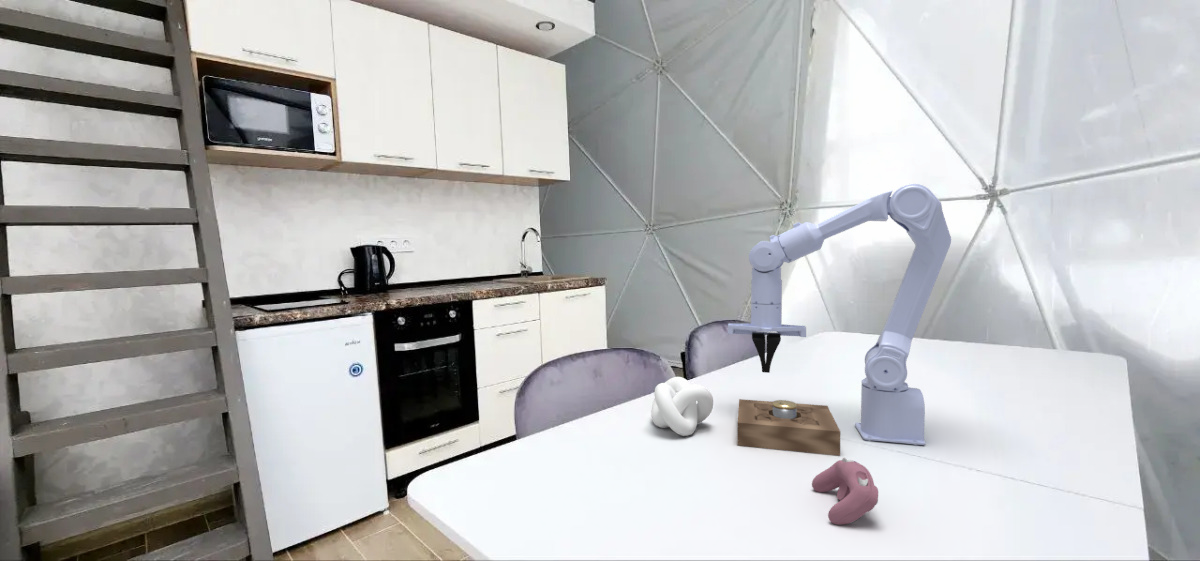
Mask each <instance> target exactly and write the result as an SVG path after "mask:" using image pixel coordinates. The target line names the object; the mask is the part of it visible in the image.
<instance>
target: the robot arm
mask: <svg viewBox="0 0 1200 561" xmlns="http://www.w3.org/2000/svg"><path fill="white" fill-rule="evenodd" d="M942 206H943V205H942V202H941V201H940V199H938V197H937V196H936V195H935V194H934V193H933V191H932V190H931V189H929V188H928V187H927V186H925V185H924V184H923V185H922V184H919V183H909V184H905V185H902V186H901V187H899V188H898V189H896V190H895V191H894V192H893V190H889V191H885V192H882V193H880V194H877V195H875V196H873V197H872V196H871V197H870V198H867V199H865V200H863V201H861V202H859V203H857V204H856V205H853V206H851V207H849V208H847V209H845V210H843V211H842V212H840V213H838V214H836V215H834V216H831V217H829V218H828V219H826V220H823V221H822V222H819V223H812V222H809V221H805V222H803V223H801V222H800V221H798V222H796V223H793V224H792V226H793V228H790V229H789V230H786V231H785V232H781V233H780V234H778V235H775V234H772V235H770V236H769V237H768V238H769V240H761V241H759V242H757V244H755V245H754V246H752V248H751V249H750V251H749V253H748V261H749V263H750V265H751V280H750V284H751V286H750V287H751V288H750V291H751V292H750V294H751V295H750V297H751V298H750V323H746V322H745V323H744V322H743V323H727V335H751V340H752V342H753V344H754V346H755V348H756V351H757V354H758V356H759V357H758V358H759V360H760V364H761V372H762V373H766V374H767V373H771V372H770V371H771V366H772V361H773V358H774V356H775V354H776V350H777V349H778V347H779V345H780V343H781V340H782V337H781V336H783V337H785V336H786V337H799V338H800V337H801V338H807V326H806V325H794V324H782V323H783V322H782V314H783V313H782V308H783V307H782V306H783V302H782V300H783V299H782V298H783V296H782V294H783V293H782V292H783V291H782V290H783V287H782V286H783V285H782V284H783V280H782V266H783V265H784V263H787V264H790V263H793V262H794V261H797V260H799V259H801V258H803V257H806V256H809V255H810V254H813V253H815V252H816V251H819V250H821V248H822V246H823V244H824V243H825V242H824V241H825V240H826V239H829V238H831V237H833V236H836V235H838V234H840V233H843V232H846V231H847V230H850V229H853V228H855V227H857V226H860V225H862V224H865V223H867V222H887V221H888V219H889V218H890V219H891V220H892V221H893V222H895V223H896V224H897V225H898V226H900V227H901V228H903V229H904V230H905V231H906V234H908V236H909V238H910V239H911V241H912V242H913V243H914V245H915V246H914V250H913V252H912V254H911V256H910V259H909V262H908V264H907V267H906V270H905V273H904V275H903V277H902V280H901V282H900V285H899V287H898V290H897V293H896V295H895V298H894V300H893V303H892V305H891V309H890V311H889V313H888V316H887V318H886V322H885V324H884V326H883V329H882V330H881V332H880V334H879V335H878V339H877V341H876V343H875V344H874V345H873V346H872V347H871V348H870V349H868V351H867V352H866V354H865V355H864V363H865V364H864V373H865V378H863V379H861V392H860V394H861V397H860V398H861V399H860V400H861V401H860V403H861V404H860V422H854V426H855V428H856V429H857V431H858V433H859V435H860V436H861V438H862V439H863V440H865V441H875V442H885V443H896V444H910V445H920V446H925V445H926V441H925V422H926V421H925V417H926V410H925V408H926V406H925V399H924V395H923V392H922V390H921V389H920V388H917V387H909V384H908V383H907V382H905V381H907V377H908V369H907V360H908V357H909V355H910V351H911V350H910V349H911V346H912V341H913V338H914V336H915V333H916V331H917V328H918V326H919V323H920V321H921V319H922V316H923V314H924V311H925V309H926V307H927V304H928V302H929V298H930V296H931V293H932V291H933V288H934V286H935V283H936V281H937V279H938V276H939V274H940V271H941V269H942V267H943V264H944V262H945V259H946V256H947V253H948V252H949V250H950V246H951V243H952V236H951V234H950V233H951V232H950V231H949V228H948V224H947V222H946V221H947V220H946V218H945V215H944V214H945V213H944V210H943V207H942Z"/></svg>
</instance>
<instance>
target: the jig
mask: <svg viewBox="0 0 1200 561" xmlns="http://www.w3.org/2000/svg"><path fill="white" fill-rule="evenodd" d="M795 403H796V402H795ZM796 404H797V416H796V418H795V419H785V418H778V417H775V416H773V401H766V400H755V399H741V398H739V399H738V408H737V409H738V411H737V436H736V437H737V438H736V439H737V440H736V446H739V447H749V448H759V449H770V450H776V451H790V452H799V453H808V454H819V455H827V456H838V457H840V456H841V430H840V428H839V426H838V424H837V421H836V420H835V418H834V416H833V414H832V412H831V410H830V408H829V405H823V404H810V403H808V404H807V403H796Z"/></svg>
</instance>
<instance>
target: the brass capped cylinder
mask: <svg viewBox="0 0 1200 561" xmlns="http://www.w3.org/2000/svg"><path fill="white" fill-rule="evenodd" d="M772 402H773V416H775V417H778V418H785V419H795V418H796V416H797V404H796V402H795V401H792V400H787V399H778V400H773V401H772Z"/></svg>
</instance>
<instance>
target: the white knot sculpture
mask: <svg viewBox="0 0 1200 561" xmlns="http://www.w3.org/2000/svg"><path fill="white" fill-rule="evenodd" d="M713 406H714V397H713V395H712V393H711V391H710V390H709V388H707V387H706V386H703V385H700V384H698V383H697V384H696V383H694V384H691V382H690V381H689V380H687V379H686V378H684V377H682V376H674V377H671V378H669V379H668V380H666V381H665V382H661V383H658V384H657V385H656V386H655V388H654V398H653V402H652V406H651V411H650V412H651V413H650V416H651V420H652V422H653V423H654V425H655V426H656V427H658V428H660V429H666V428H670V429H671V430H672V431H673V432H674V433H676V434H677V435H680V436H682V437H687V436H690V435H691V436H692V434H694V432H695V430H696V429H697V426H698V424H700V423H702V422H704V421H706V419H707V418H709V416H710V415H711V413H712V411H713V409H714V408H713Z"/></svg>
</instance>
